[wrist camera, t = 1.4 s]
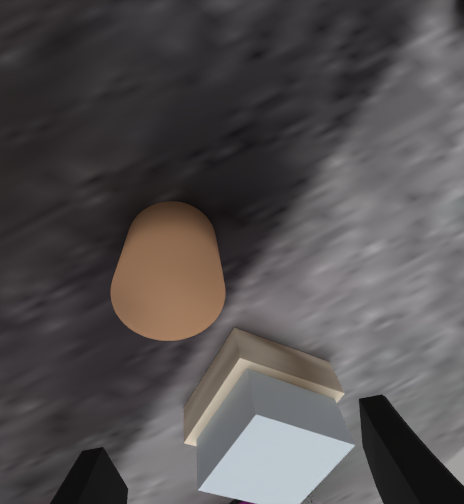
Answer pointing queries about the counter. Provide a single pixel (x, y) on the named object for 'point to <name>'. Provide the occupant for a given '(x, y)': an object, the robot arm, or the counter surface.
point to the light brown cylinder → (169, 273)
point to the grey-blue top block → (270, 442)
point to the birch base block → (260, 360)
